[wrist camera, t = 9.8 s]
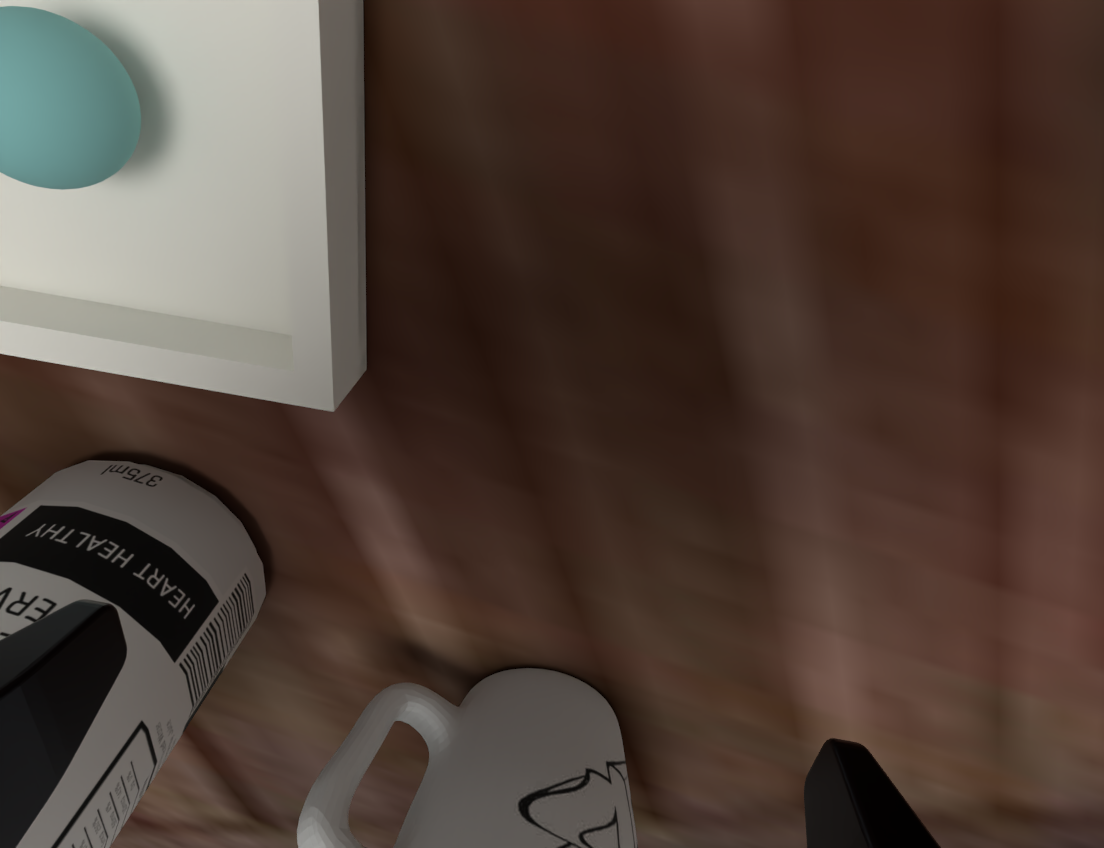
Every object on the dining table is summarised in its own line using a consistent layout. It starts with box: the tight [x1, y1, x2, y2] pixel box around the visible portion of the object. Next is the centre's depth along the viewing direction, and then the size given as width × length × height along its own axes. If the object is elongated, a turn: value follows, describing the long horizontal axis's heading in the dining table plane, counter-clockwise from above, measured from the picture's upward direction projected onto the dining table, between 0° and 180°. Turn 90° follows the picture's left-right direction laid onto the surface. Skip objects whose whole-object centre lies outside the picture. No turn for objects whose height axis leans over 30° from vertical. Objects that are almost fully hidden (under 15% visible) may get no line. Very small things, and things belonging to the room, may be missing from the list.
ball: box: [0, 6, 141, 190], centre depth 15 cm, size 4×4×4 cm
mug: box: [297, 668, 638, 848], centre depth 23 cm, size 11×8×10 cm
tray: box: [0, 0, 367, 412], centre depth 16 cm, size 13×13×2 cm
